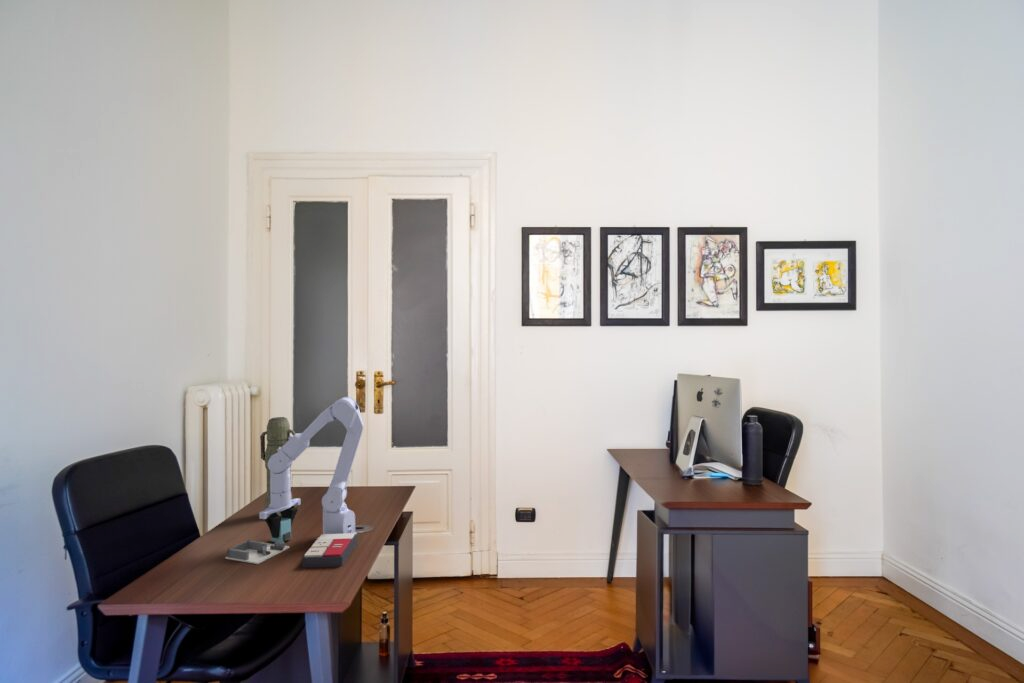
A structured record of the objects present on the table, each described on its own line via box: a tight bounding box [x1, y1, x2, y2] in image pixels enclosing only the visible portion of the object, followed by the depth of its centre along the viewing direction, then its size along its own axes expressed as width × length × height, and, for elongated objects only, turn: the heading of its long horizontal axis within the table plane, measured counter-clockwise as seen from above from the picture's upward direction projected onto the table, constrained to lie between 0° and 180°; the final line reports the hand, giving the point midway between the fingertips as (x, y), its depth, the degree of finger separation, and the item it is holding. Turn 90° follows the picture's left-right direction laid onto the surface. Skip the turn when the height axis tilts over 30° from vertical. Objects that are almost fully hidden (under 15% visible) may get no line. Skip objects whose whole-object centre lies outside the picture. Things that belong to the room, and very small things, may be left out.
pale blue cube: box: [270, 518, 292, 543], centre depth 151 cm, size 5×4×6 cm
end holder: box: [226, 539, 268, 560], centre depth 141 cm, size 7×7×3 cm
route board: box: [225, 541, 291, 565], centre depth 143 cm, size 12×12×2 cm
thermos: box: [259, 416, 296, 516], centre depth 177 cm, size 9×12×35 cm
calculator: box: [301, 533, 358, 568], centre depth 140 cm, size 11×4×15 cm
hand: (281, 534), depth 151 cm, fingers closed on pale blue cube, 4 cm apart
